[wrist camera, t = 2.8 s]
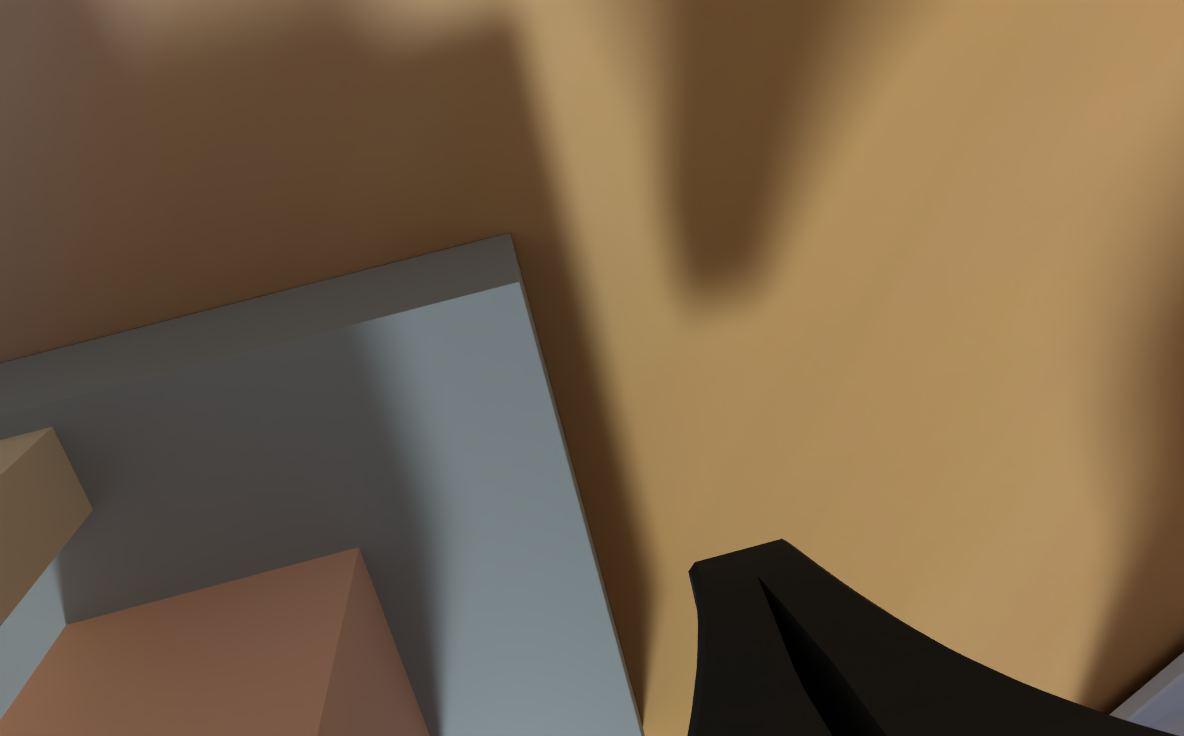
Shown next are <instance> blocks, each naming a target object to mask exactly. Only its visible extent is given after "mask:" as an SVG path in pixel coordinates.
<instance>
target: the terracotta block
mask: <svg viewBox="0 0 1184 736" xmlns="http://www.w3.org/2000/svg"><path fill="white" fill-rule="evenodd" d="M0 736H430V734H429V732H428V729H427V727H426V724H425V721H424V719H423V716H422V713H421V711H420V708H419V705H418V703H417V700H416V697H415V695H414V692H413V689H412V687H411V684H410V681H409V679H408V676H407V673H406V671H405V668H404V665H403V663H402V660H401V658H400V655H399V652H398V650H397V647H396V644H395V642H394V639H393V636H392V634H391V631H390V628H389V626H388V623H387V620H386V618H385V615H384V612H383V610H382V607H381V604H380V602H379V599H378V596H377V594H376V591H375V588H374V586H373V583H372V581H371V578H370V575H369V573H368V570H367V567H366V565H365V562H364V559H363V557H362V554H361V551H360V549H359V547H358V548H354V549H350V550H347V551H343V552H339V553H335V554H332V555H328V556H324V557H320V558H317V559H313V560H309V561H305V562H302V563H298V564H294V565H290V566H286V567H283V568H279V569H275V570H271V571H268V572H264V573H260V574H256V575H253V576H249V577H245V578H241V579H238V580H234V581H230V582H226V583H222V584H219V585H215V586H211V587H207V588H204V589H200V590H196V591H192V592H189V593H185V594H181V595H177V596H174V597H170V598H166V599H162V600H159V601H155V602H151V603H147V604H143V605H140V606H136V607H132V608H128V609H125V610H121V611H117V612H113V613H110V614H106V615H102V616H98V617H95V618H91V619H87V620H83V621H79V622H76V623H72V624H68V625H66V626H65V627H64V629H63V630H62V632H61V633H60V634H59V636H58V637H57V639H56V640H55V642H54V643H53V645H52V646H51V648H50V649H49V650H48V652H47V653H46V655H45V656H44V658H43V659H42V661H41V662H40V664H39V665H38V666H37V668H36V669H35V671H34V672H33V674H32V675H31V677H30V678H29V680H28V681H27V683H26V684H25V685H24V687H23V688H22V690H21V691H20V693H19V694H18V696H17V697H16V699H15V700H14V701H13V703H12V704H11V706H10V707H9V709H8V710H7V712H6V713H5V715H4V716H3V717H2V719H1V720H0Z"/></svg>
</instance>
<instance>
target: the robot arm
mask: <svg viewBox="0 0 1184 736" xmlns="http://www.w3.org/2000/svg"><path fill="white" fill-rule="evenodd" d="M688 572H689V576H690V581H691V585H692V590H693V594H694V599H695V603H696V607H697V614H698V653H697V671H696V680H695V688H694V697H693V705H692V713H691V719H690V725H689V730H688V736H1184V652H1183V653H1182V654H1181V655H1179V656H1178V657H1177V658H1176V659H1175V660H1173V661H1172V662H1171V663H1170V664H1169V665H1168V666H1166V667H1165V668H1164V669H1163V670H1162V671H1160V672H1159V673H1158V674H1157V675H1156V676H1154V677H1153V678H1152V679H1151V680H1150V681H1149V682H1147V683H1146V684H1145V685H1144V686H1143V687H1141V688H1140V689H1139V690H1138V691H1137V692H1135V693H1134V694H1133V695H1132V696H1131V697H1130V698H1128V699H1127V700H1126V701H1125V702H1124V703H1122V704H1121V705H1120V706H1119V707H1118V708H1116V709H1115V710H1114V711H1113V712H1112V713H1111V714H1109V715H1108V714H1105V713H1102V712H1099V711H1096V710H1093V709H1090V708H1088V707H1085V706H1082V705H1079V704H1077V703H1074V702H1071V701H1069V700H1066V699H1063V698H1060V697H1058V696H1055V695H1052V694H1049V693H1047V692H1044V691H1042V690H1039V689H1037V688H1034V687H1032V686H1029V685H1027V684H1024V683H1022V682H1020V681H1017V680H1015V679H1013V678H1010V677H1008V676H1006V675H1004V674H1002V673H1000V672H997V671H995V670H993V669H991V668H989V667H987V666H984V665H982V664H980V663H978V662H976V661H973V660H971V659H969V658H967V657H965V656H963V655H961V654H959V653H957V652H955V651H953V650H951V649H949V648H947V647H945V646H944V645H942V644H940V643H938V642H937V641H935V640H933V639H931V638H930V637H928V636H926V635H924V634H923V633H921V632H919V631H917V630H916V629H914V628H912V627H911V626H909V625H907V624H906V623H904V622H902V621H901V620H899V619H897V618H896V617H894V616H893V615H891V614H890V613H888V612H886V611H885V610H883V609H882V608H880V607H879V606H877V605H876V604H874V603H873V602H871V601H869V600H868V599H866V598H865V597H863V596H862V595H860V594H859V593H857V592H856V591H854V590H853V589H852V588H850V587H849V586H847V585H846V584H844V583H843V582H842V581H840V580H839V579H837V578H836V577H835V576H833V575H832V574H830V573H829V572H828V571H826V570H825V569H823V568H822V567H821V566H819V565H818V564H817V563H815V562H814V561H813V560H811V559H810V558H809V557H807V556H806V555H805V554H803V553H802V552H801V551H799V550H798V549H797V548H795V547H794V546H793V545H791V544H790V543H788V542H787V541H785V540H783V539H780V540H776V541H772V542H769V543H765V544H761V545H757V546H754V547H750V548H746V549H742V550H739V551H735V552H731V553H728V554H724V555H720V556H716V557H713V558H709V559H705V560H701V561H698V562H695V563H694V564H693V566H692V567H691V569H690V570H689V571H688Z"/></svg>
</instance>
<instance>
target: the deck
mask: <svg viewBox="0 0 1184 736" xmlns="http://www.w3.org/2000/svg"><path fill="white" fill-rule="evenodd" d="M358 547H359V549H360V551H361V554H362V557H363V559H364V562H365V565H366V567H367V570H368V573H369V575H370V578H371V581H372V583H373V586H374V588H375V591H376V594H377V596H378V599H379V602H380V604H381V607H382V610H383V612H384V615H385V618H386V620H387V623H388V626H389V628H390V631H391V634H392V636H393V639H394V642H395V644H396V647H397V650H398V652H399V655H400V658H401V660H402V663H403V665H404V668H405V671H406V673H407V676H408V679H409V681H410V684H411V687H412V689H413V692H414V695H415V697H416V700H417V703H418V705H419V708H420V711H421V713H422V716H423V719H424V721H425V724H426V727H427V729H428V732H429V734H430V736H645V735H644V730H643V727H642V723H641V719H640V715H639V712H638V708H637V704H636V701H635V697H634V693H633V689H632V686H631V682H630V678H629V674H628V671H627V667H626V663H625V660H624V656H623V652H622V648H621V645H620V641H619V637H618V633H617V630H616V626H615V622H614V618H613V615H612V611H611V607H610V604H609V600H608V596H607V592H606V589H605V585H604V581H603V577H602V574H601V570H600V566H599V562H598V559H597V555H596V551H595V548H594V544H593V540H592V536H591V533H590V529H589V525H588V521H587V518H586V514H585V510H584V506H583V503H582V499H581V495H580V492H579V488H578V484H577V480H576V477H575V473H574V469H573V465H572V462H571V458H570V454H569V451H568V447H567V443H566V439H565V436H564V432H563V428H562V424H561V421H560V417H559V413H558V409H557V406H556V402H555V398H554V395H553V391H552V387H551V383H550V380H549V376H548V372H547V368H546V365H545V361H544V357H543V353H542V350H541V346H540V342H539V339H538V335H537V331H536V327H535V324H534V320H533V316H532V312H531V309H530V305H529V301H528V297H527V294H526V290H525V286H524V283H523V279H522V275H521V271H520V268H519V264H518V260H517V256H516V253H515V249H514V245H513V241H512V238H511V234H510V233H507V234H503V235H500V236H496V237H492V238H488V239H484V240H480V241H476V242H472V243H468V244H464V245H460V246H457V247H453V248H449V249H445V250H441V251H437V252H433V253H429V254H425V255H421V256H418V257H414V258H410V259H406V260H402V261H398V262H394V263H390V264H386V265H382V266H378V267H375V268H371V269H367V270H363V271H359V272H355V273H351V274H347V275H343V276H339V277H335V278H332V279H328V280H324V281H320V282H316V283H312V284H308V285H304V286H300V287H296V288H292V289H289V290H285V291H281V292H277V293H273V294H269V295H265V296H261V297H257V298H253V299H249V300H246V301H242V302H238V303H234V304H230V305H226V306H222V307H218V308H214V309H210V310H207V311H203V312H199V313H195V314H191V315H187V316H183V317H179V318H175V319H171V320H167V321H164V322H160V323H156V324H152V325H148V326H144V327H140V328H136V329H132V330H128V331H124V332H121V333H117V334H113V335H109V336H105V337H101V338H97V339H93V340H89V341H85V342H81V343H78V344H74V345H70V346H66V347H62V348H58V349H54V350H50V351H46V352H42V353H39V354H35V355H31V356H27V357H23V358H19V359H15V360H11V361H7V362H3V363H0V720H1V719H2V717H3V716H4V715H5V713H6V712H7V710H8V709H9V707H10V706H11V704H12V703H13V701H14V700H15V699H16V697H17V696H18V694H19V693H20V691H21V690H22V688H23V687H24V685H25V684H26V683H27V681H28V680H29V678H30V677H31V675H32V674H33V672H34V671H35V669H36V668H37V666H38V665H39V664H40V662H41V661H42V659H43V658H44V656H45V655H46V653H47V652H48V650H49V649H50V648H51V646H52V645H53V643H54V642H55V640H56V639H57V637H58V636H59V634H60V633H61V632H62V630H63V629H64V627H65V626H66V625H68V624H72V623H76V622H79V621H83V620H87V619H91V618H95V617H98V616H102V615H106V614H110V613H113V612H117V611H121V610H125V609H128V608H132V607H136V606H140V605H143V604H147V603H151V602H155V601H159V600H162V599H166V598H170V597H174V596H177V595H181V594H185V593H189V592H192V591H196V590H200V589H204V588H207V587H211V586H215V585H219V584H222V583H226V582H230V581H234V580H238V579H241V578H245V577H249V576H253V575H256V574H260V573H264V572H268V571H271V570H275V569H279V568H283V567H286V566H290V565H294V564H298V563H302V562H305V561H309V560H313V559H317V558H320V557H324V556H328V555H332V554H335V553H339V552H343V551H347V550H350V549H354V548H358Z"/></svg>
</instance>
